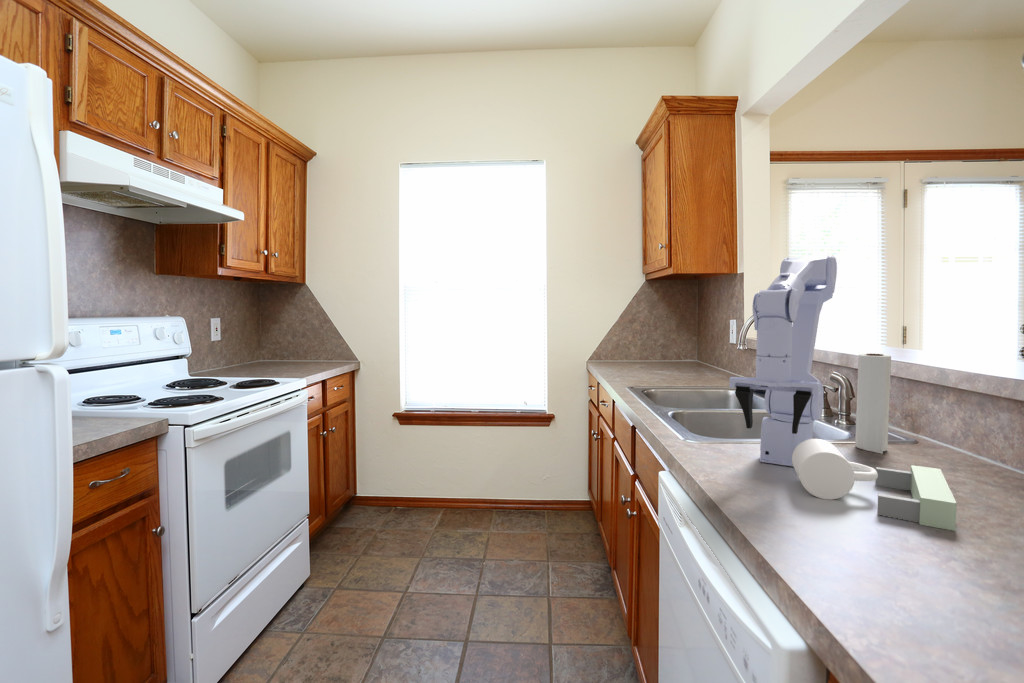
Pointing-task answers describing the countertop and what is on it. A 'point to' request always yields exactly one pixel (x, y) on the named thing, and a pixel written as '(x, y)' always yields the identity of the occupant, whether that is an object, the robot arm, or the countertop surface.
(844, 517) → the countertop surface
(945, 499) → the green forked block
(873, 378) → the paper towel roll
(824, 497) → the mug
